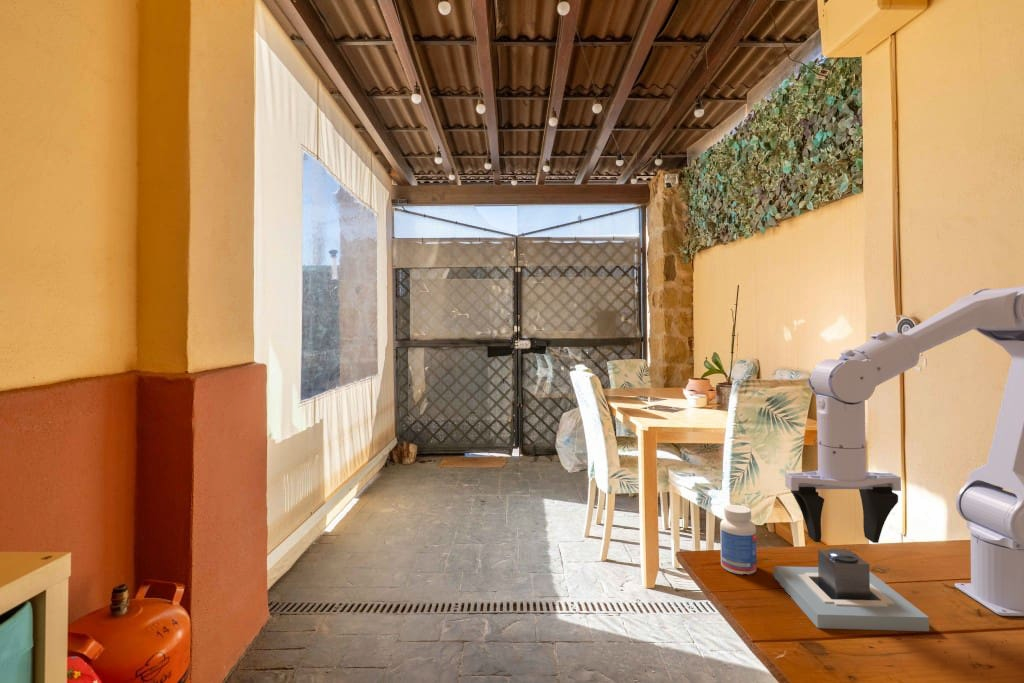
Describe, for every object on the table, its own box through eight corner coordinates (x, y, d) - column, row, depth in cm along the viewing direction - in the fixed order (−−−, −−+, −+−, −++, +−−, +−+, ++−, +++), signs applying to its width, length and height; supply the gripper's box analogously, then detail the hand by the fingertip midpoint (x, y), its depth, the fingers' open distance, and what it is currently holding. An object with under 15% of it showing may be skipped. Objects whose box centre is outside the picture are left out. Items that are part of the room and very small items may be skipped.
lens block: (850, 594, 74) (850, 547, 74) (870, 611, 69) (869, 561, 69) (818, 593, 74) (817, 547, 74) (835, 610, 70) (834, 560, 70)
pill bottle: (761, 576, 79) (760, 515, 79) (724, 574, 81) (723, 514, 80) (751, 561, 85) (750, 503, 85) (717, 559, 86) (716, 502, 86)
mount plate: (865, 579, 78) (865, 566, 78) (929, 631, 64) (928, 615, 64) (774, 577, 79) (773, 565, 79) (817, 628, 66) (817, 612, 66)
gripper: (878, 437, 75) (879, 529, 75) (775, 438, 76) (777, 528, 76) (910, 449, 68) (912, 549, 68) (797, 449, 69) (799, 548, 69)
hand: (842, 539), depth 72 cm, fingers open, 7 cm apart
